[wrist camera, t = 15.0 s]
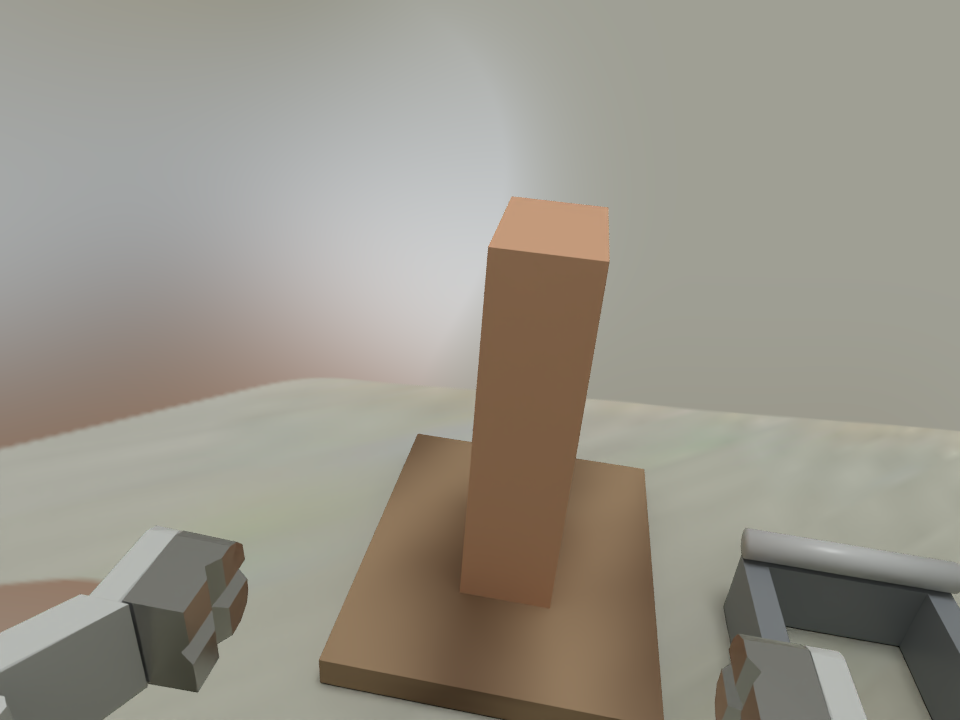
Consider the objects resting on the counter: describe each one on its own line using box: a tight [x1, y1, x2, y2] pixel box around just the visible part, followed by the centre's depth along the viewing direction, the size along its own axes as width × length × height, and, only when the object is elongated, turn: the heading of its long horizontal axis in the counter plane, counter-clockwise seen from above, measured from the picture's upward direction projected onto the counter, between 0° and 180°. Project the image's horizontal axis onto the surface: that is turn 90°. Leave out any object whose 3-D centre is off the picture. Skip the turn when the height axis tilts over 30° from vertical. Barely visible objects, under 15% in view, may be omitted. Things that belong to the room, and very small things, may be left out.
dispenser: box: [724, 528, 960, 720], centre depth 20 cm, size 7×9×4 cm
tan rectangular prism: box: [460, 197, 609, 609], centre depth 22 cm, size 3×5×12 cm, turn 171°
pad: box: [319, 434, 664, 720], centre depth 25 cm, size 10×12×1 cm
